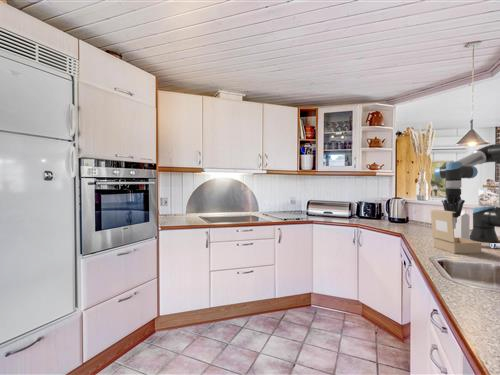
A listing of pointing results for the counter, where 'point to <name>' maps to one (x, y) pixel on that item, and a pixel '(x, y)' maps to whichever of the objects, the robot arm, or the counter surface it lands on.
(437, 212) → the lid
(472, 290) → the counter surface
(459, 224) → the milk
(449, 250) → the base
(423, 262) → the counter surface
